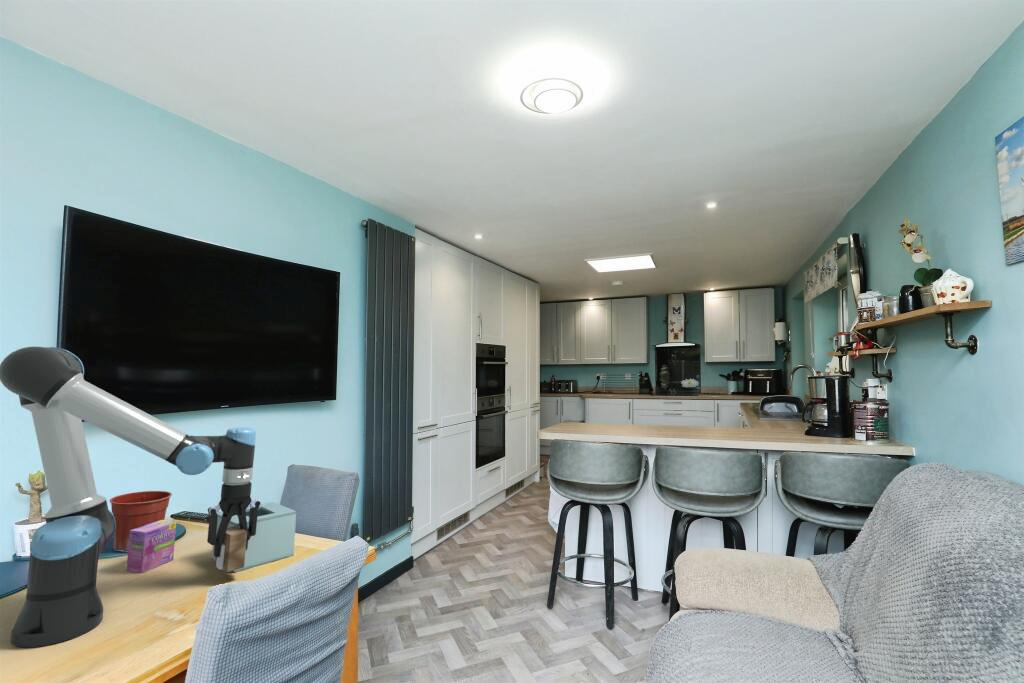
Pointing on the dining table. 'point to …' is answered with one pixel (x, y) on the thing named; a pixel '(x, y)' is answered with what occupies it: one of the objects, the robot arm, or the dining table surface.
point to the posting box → (267, 535)
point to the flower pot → (136, 513)
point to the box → (151, 546)
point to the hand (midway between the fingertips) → (229, 565)
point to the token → (234, 548)
